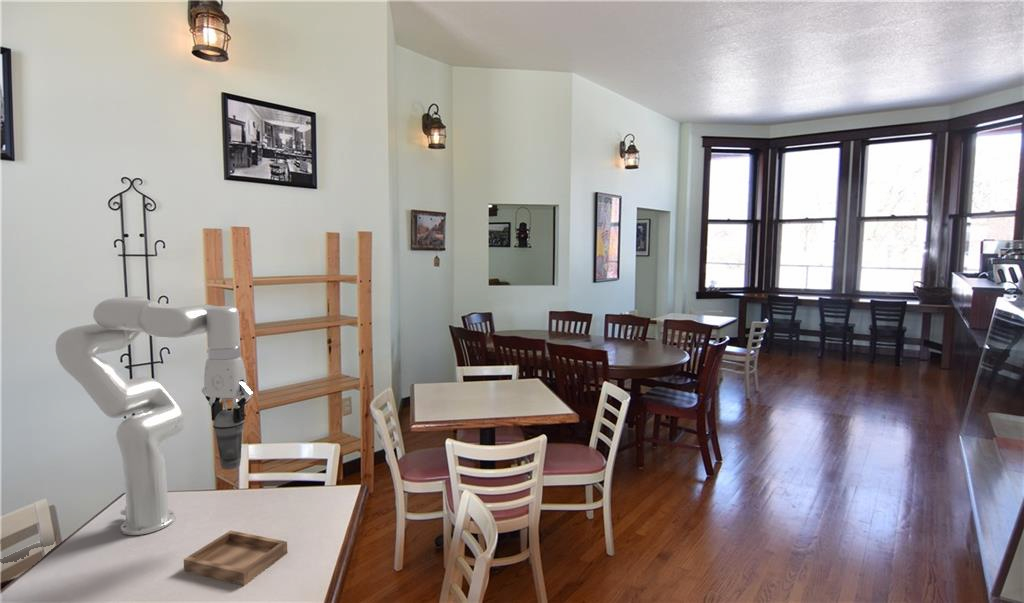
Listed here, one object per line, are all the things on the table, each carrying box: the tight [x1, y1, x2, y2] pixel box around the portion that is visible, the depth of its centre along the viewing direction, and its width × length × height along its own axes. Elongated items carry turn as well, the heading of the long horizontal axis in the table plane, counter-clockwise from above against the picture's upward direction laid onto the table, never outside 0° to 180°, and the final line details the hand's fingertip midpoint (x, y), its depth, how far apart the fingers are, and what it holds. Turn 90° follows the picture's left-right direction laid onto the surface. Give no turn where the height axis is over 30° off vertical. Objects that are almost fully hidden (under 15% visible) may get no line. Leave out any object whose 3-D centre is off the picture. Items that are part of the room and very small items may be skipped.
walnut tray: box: [183, 529, 288, 586], centre depth 133 cm, size 18×14×3 cm
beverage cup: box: [212, 398, 245, 470], centre depth 143 cm, size 7×7×20 cm
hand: (228, 419), depth 143 cm, fingers closed on beverage cup, 6 cm apart
